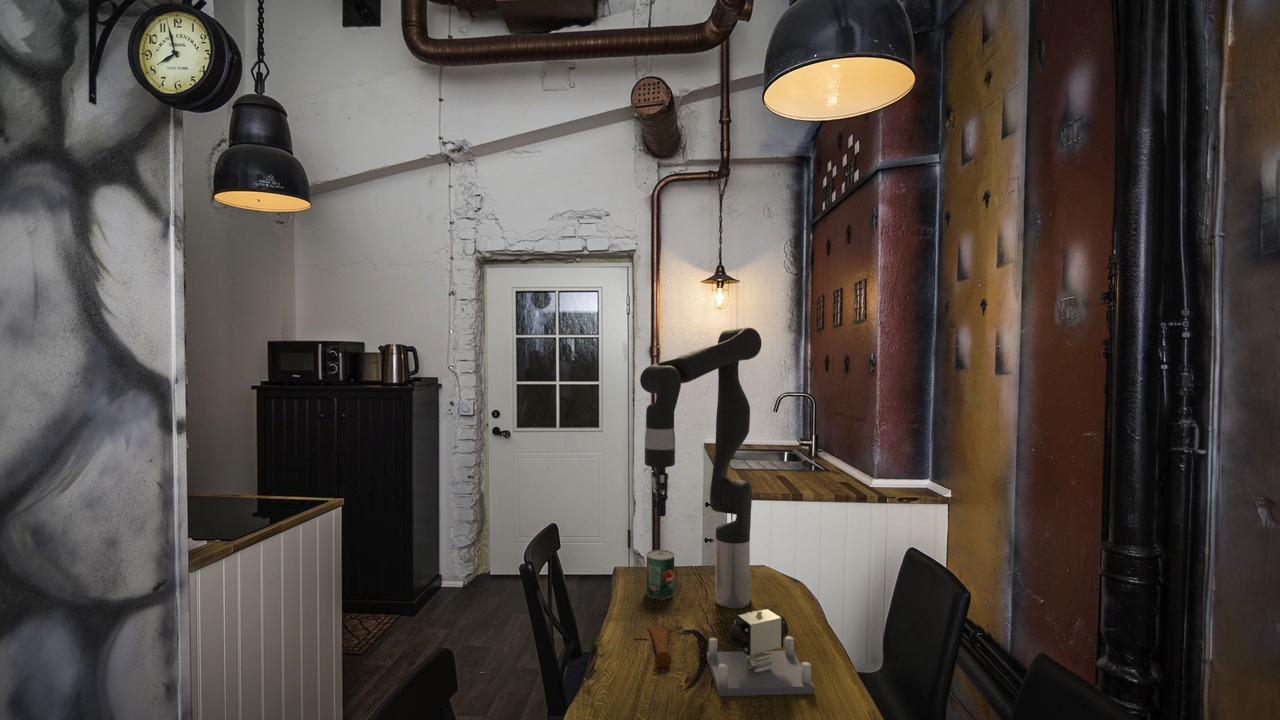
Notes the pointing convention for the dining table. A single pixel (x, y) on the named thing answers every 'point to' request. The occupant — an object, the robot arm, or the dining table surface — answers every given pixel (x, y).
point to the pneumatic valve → (758, 637)
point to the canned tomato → (660, 574)
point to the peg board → (742, 681)
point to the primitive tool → (660, 644)
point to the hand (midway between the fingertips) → (659, 511)
